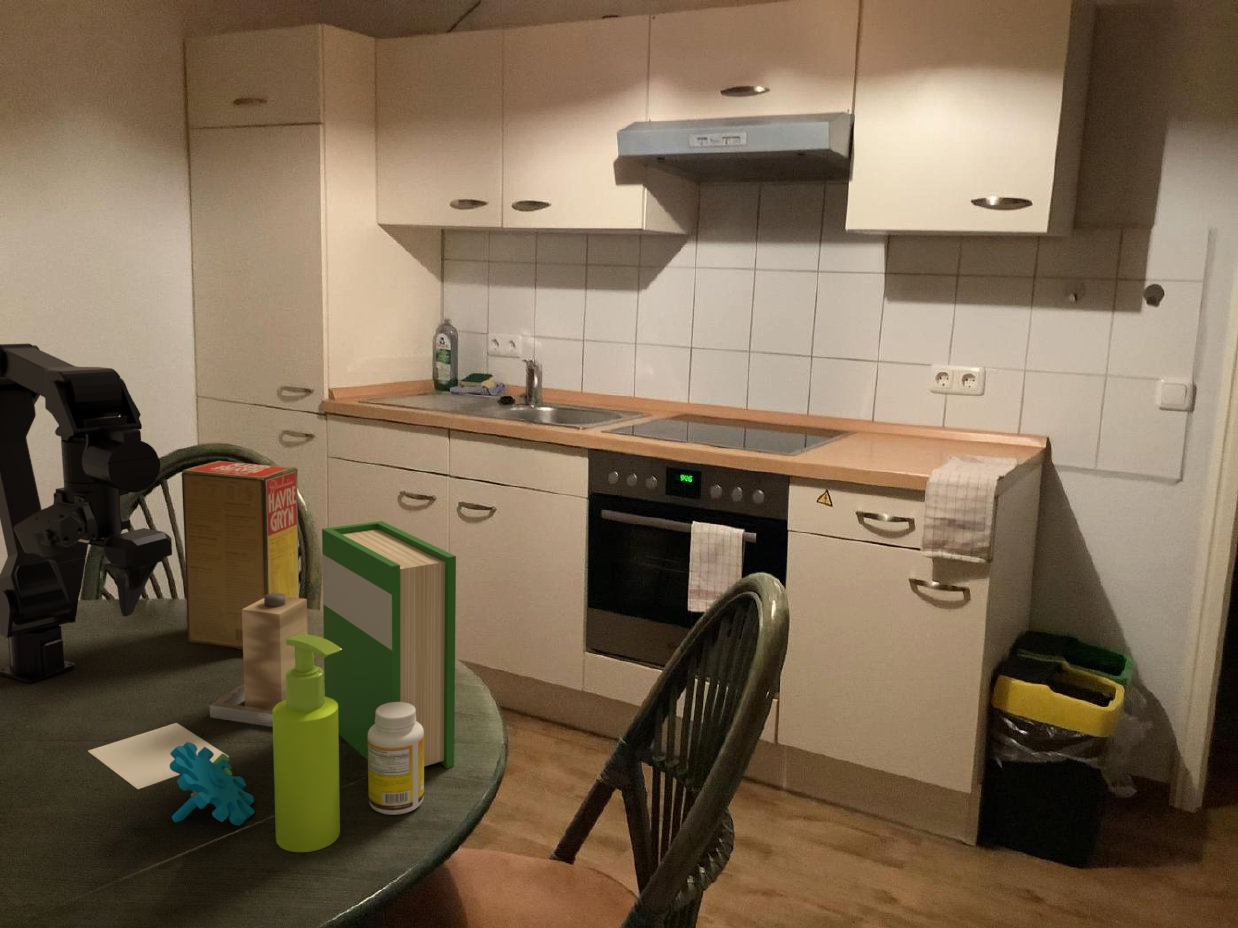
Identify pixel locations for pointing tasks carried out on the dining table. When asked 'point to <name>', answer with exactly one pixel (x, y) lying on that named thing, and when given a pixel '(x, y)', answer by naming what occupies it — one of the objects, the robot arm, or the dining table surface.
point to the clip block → (270, 647)
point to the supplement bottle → (395, 759)
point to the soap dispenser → (306, 753)
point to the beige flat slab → (149, 754)
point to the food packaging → (237, 544)
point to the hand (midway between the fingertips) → (99, 608)
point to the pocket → (240, 709)
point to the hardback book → (390, 632)
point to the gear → (210, 785)
